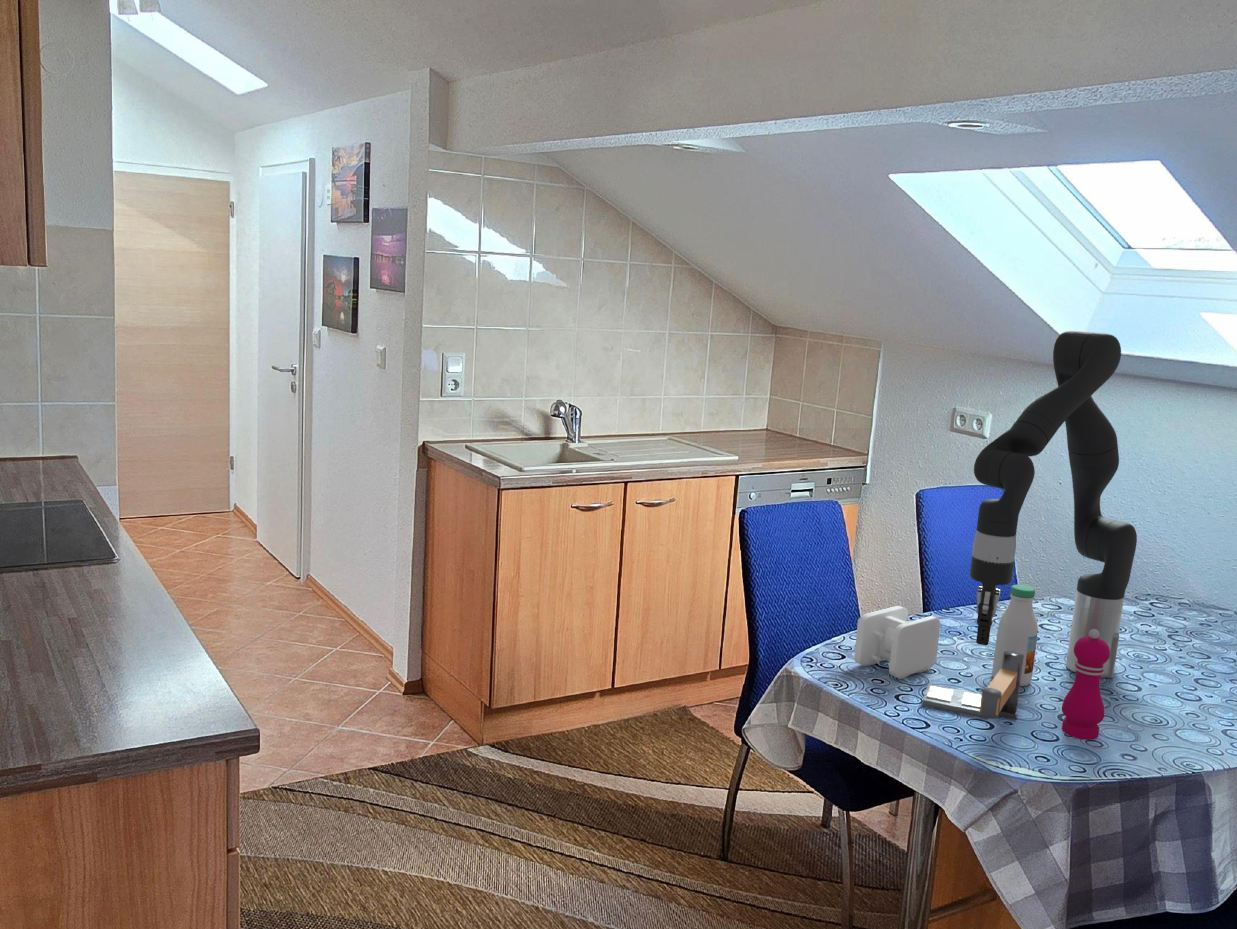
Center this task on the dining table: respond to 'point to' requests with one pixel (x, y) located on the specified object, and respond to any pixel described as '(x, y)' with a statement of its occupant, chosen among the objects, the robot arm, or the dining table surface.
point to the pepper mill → (1086, 689)
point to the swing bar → (997, 693)
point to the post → (1015, 663)
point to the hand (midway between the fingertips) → (982, 643)
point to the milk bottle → (1018, 631)
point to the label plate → (952, 700)
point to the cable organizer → (897, 641)
